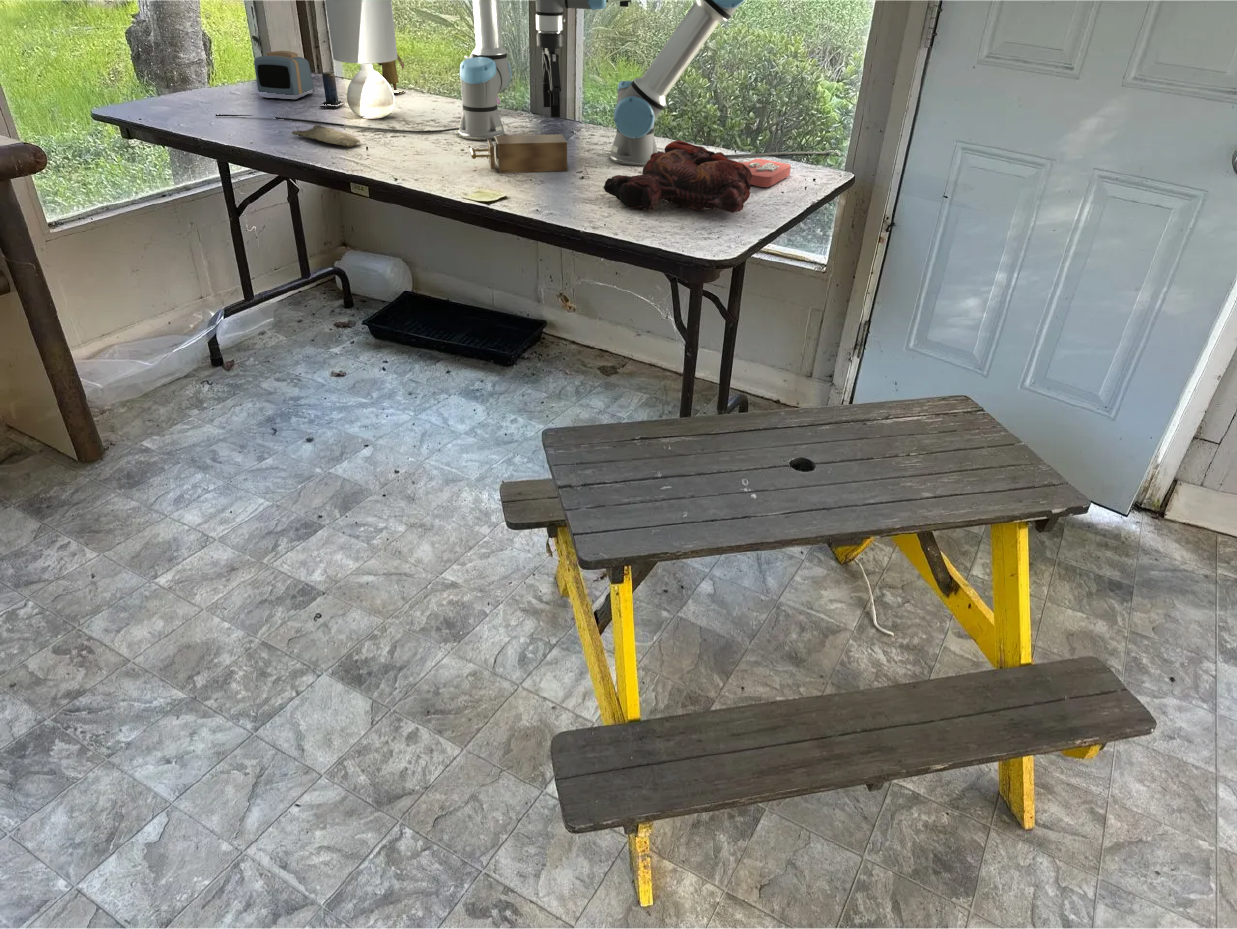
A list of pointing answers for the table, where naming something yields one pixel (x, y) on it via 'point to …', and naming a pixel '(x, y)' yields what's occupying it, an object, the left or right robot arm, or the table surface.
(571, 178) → the table surface
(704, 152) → the sculpture
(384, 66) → the figurine
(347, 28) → the lamp
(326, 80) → the beverage can
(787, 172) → the plaque
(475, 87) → the left robot arm
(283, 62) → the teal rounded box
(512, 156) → the cabinet
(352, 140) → the stone tool
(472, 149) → the drawer
